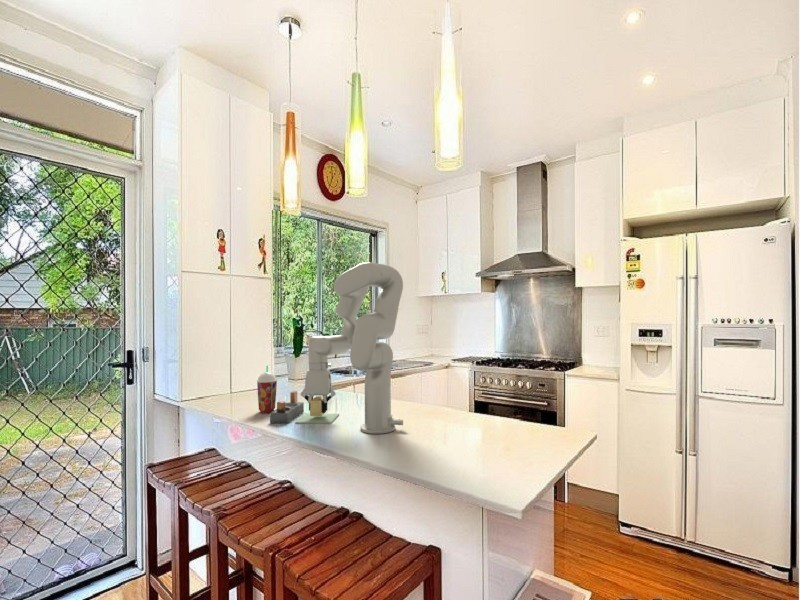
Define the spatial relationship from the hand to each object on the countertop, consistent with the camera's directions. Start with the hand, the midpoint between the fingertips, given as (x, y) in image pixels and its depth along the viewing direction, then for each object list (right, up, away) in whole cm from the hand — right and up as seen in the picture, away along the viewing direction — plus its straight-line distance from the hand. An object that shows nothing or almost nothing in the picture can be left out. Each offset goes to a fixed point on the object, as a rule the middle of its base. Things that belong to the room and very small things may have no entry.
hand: (318, 411), depth 163 cm
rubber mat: (0, -3, 0) cm, 3 cm away
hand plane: (-13, -3, +4) cm, 14 cm away
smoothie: (-25, -4, +14) cm, 29 cm away
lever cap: (0, -1, 0) cm, 1 cm away
